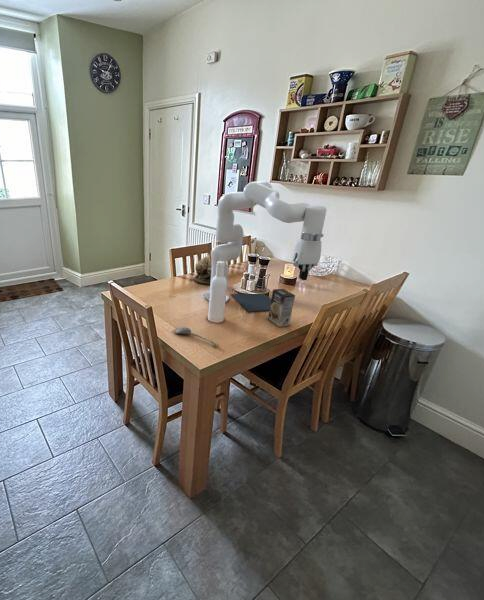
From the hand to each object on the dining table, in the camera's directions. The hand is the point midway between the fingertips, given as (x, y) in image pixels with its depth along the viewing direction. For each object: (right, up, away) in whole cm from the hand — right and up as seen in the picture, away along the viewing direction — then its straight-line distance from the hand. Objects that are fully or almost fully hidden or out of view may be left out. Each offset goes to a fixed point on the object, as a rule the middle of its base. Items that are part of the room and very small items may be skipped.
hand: (302, 279), depth 141 cm
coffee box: (-3, -20, +22) cm, 30 cm away
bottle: (-34, -19, +24) cm, 45 cm away
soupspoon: (-46, -27, +6) cm, 53 cm away
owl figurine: (-32, +3, +74) cm, 81 cm away
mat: (-7, -10, +44) cm, 46 cm away
